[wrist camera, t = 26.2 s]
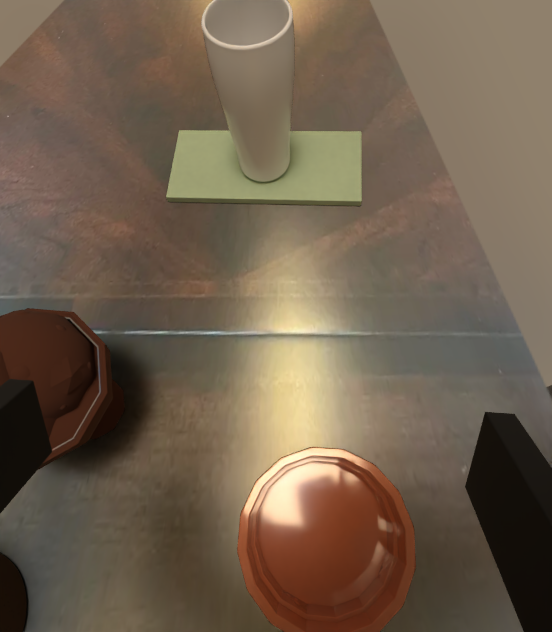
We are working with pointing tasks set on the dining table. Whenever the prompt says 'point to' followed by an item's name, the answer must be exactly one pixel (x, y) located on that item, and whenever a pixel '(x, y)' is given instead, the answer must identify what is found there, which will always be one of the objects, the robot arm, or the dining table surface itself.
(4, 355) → the ice cream bowl
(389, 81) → the dining table surface
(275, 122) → the drinking glass
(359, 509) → the pot
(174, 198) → the mat
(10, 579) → the olive oil
